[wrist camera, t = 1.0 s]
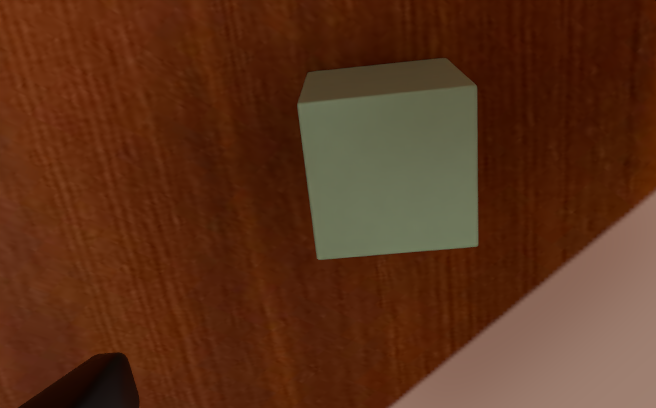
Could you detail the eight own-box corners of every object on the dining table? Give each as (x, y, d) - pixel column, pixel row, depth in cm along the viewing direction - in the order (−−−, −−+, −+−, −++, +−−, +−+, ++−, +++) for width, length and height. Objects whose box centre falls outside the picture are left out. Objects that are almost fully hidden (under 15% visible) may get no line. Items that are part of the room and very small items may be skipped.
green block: (450, 188, 20) (478, 247, 16) (322, 199, 20) (316, 260, 16) (447, 57, 18) (477, 84, 14) (306, 71, 18) (296, 103, 14)
